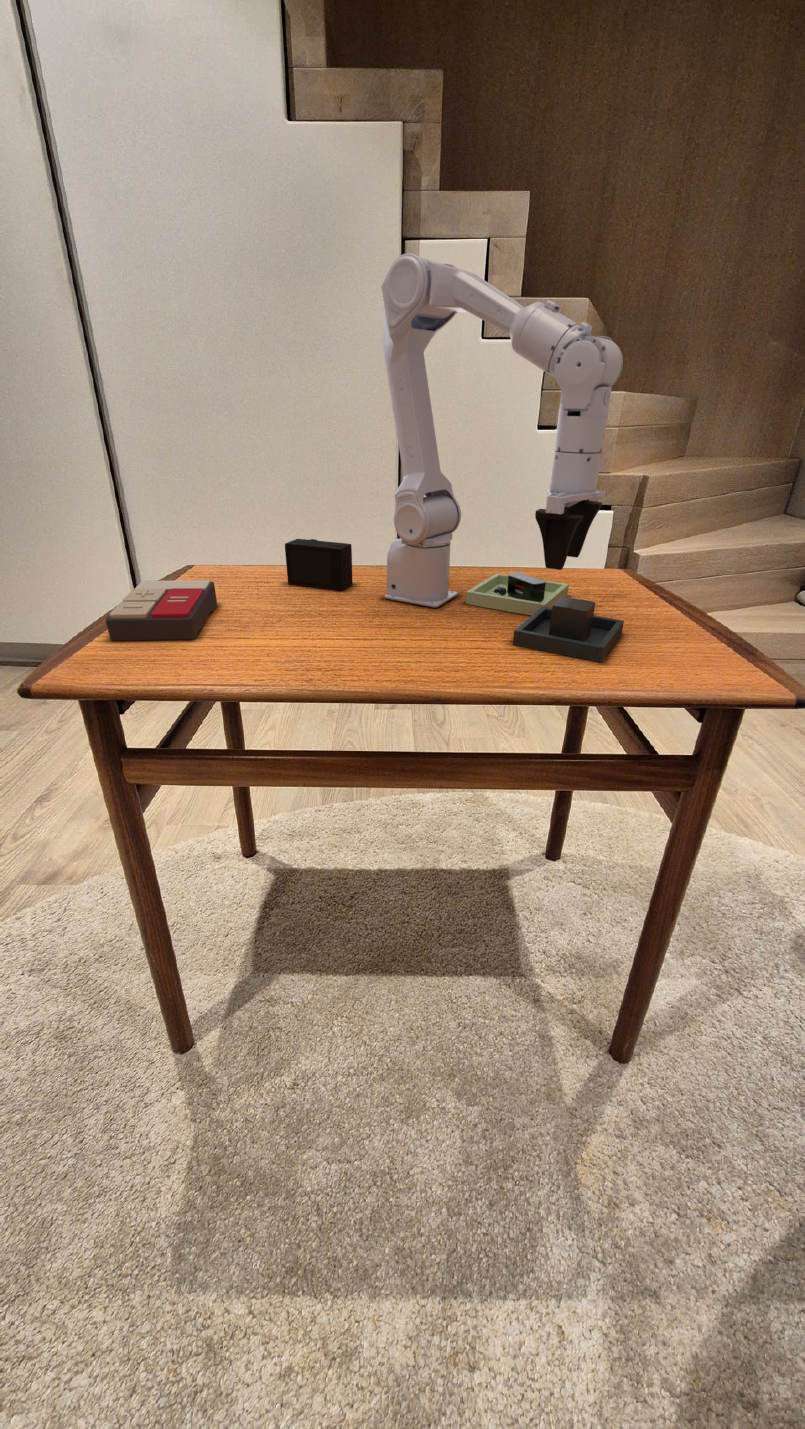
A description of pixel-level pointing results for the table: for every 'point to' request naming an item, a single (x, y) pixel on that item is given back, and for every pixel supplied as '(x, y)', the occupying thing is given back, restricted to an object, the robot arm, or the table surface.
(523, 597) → the wireless earbuds
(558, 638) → the dark tray
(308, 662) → the table surface
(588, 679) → the table surface
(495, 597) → the pale tray
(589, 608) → the charcoal block
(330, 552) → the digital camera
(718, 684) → the table surface
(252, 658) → the table surface
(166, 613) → the calculator
